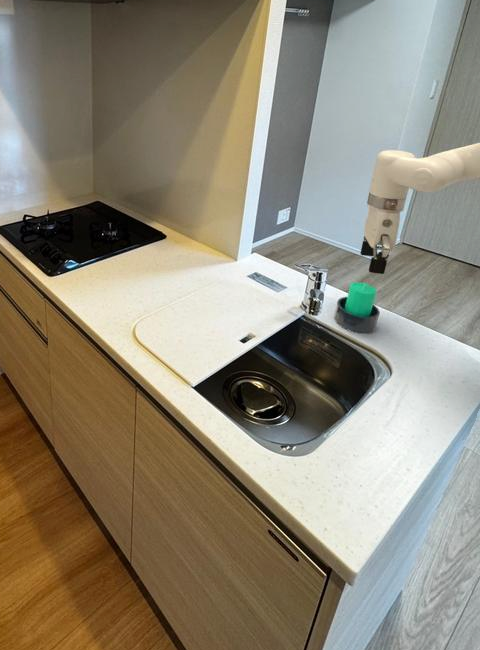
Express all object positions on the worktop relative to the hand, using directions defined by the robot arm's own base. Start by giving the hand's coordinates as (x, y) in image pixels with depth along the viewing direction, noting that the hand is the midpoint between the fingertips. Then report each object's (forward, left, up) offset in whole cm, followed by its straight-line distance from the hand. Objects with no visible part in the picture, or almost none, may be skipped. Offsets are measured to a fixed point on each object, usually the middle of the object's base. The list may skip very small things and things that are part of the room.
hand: (371, 263), depth 107 cm
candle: (0, 0, -18) cm, 18 cm away
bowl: (0, 0, -19) cm, 19 cm away
